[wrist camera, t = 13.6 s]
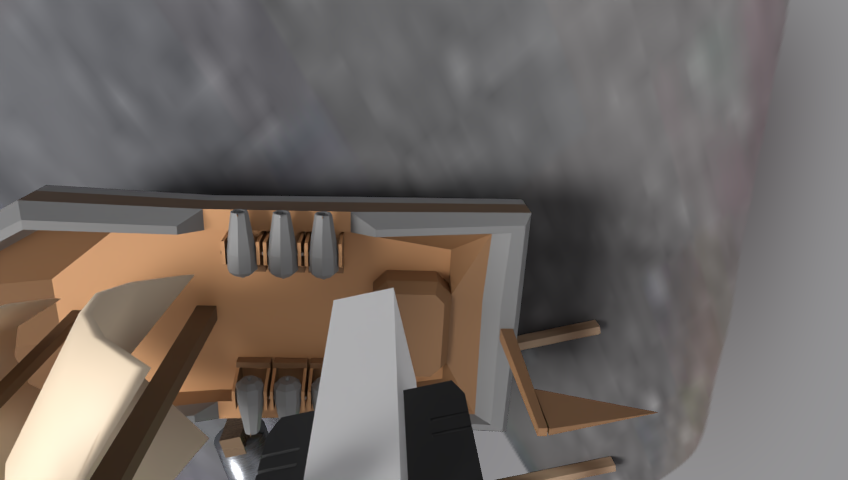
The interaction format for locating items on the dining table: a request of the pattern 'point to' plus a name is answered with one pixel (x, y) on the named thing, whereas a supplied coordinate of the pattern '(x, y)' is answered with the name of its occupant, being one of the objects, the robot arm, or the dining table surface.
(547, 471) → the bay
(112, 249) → the sailing ship
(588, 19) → the dining table surface
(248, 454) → the winch
